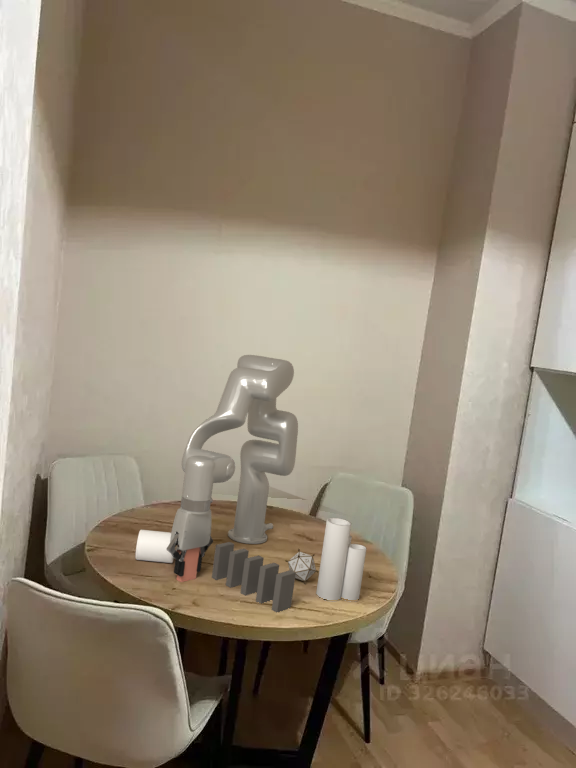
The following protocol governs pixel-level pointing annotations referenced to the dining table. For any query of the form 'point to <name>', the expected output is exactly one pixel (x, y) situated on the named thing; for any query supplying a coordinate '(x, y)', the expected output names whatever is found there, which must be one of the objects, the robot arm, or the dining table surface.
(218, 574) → the black tile
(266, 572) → the black tile
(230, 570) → the dark gray domino tile
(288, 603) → the grey domino block
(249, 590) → the black tile
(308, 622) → the dining table surface
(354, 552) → the vase
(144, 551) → the mug
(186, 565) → the red tile
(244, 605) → the dining table surface
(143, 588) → the dining table surface
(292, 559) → the game die
